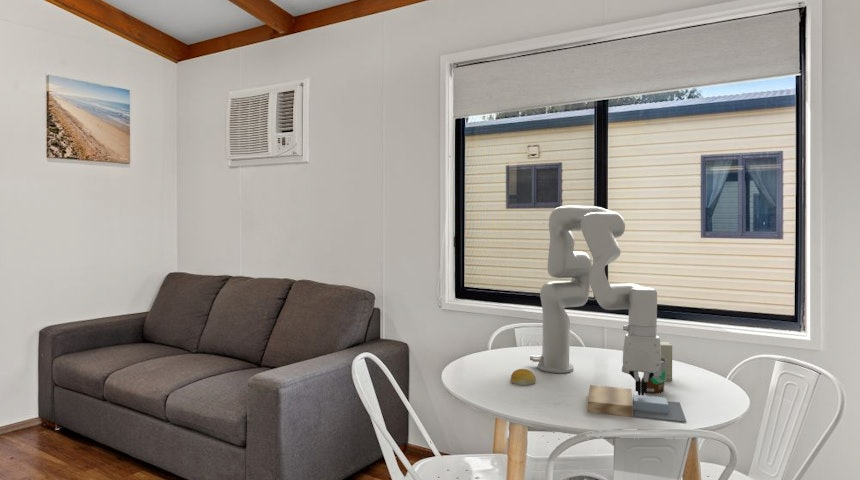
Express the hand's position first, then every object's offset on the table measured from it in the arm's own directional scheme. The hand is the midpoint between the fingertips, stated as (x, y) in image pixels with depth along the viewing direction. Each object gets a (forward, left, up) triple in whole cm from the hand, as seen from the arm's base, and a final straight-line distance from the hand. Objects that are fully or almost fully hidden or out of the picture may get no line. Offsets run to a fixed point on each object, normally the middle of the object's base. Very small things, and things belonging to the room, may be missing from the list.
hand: (640, 394), depth 160 cm
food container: (+6, +19, -4) cm, 20 cm away
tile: (+2, 0, -4) cm, 5 cm away
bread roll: (-36, +15, -5) cm, 39 cm away
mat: (+5, 0, -4) cm, 6 cm away
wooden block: (-8, 0, -4) cm, 9 cm away
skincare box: (+9, +34, -4) cm, 35 cm away
